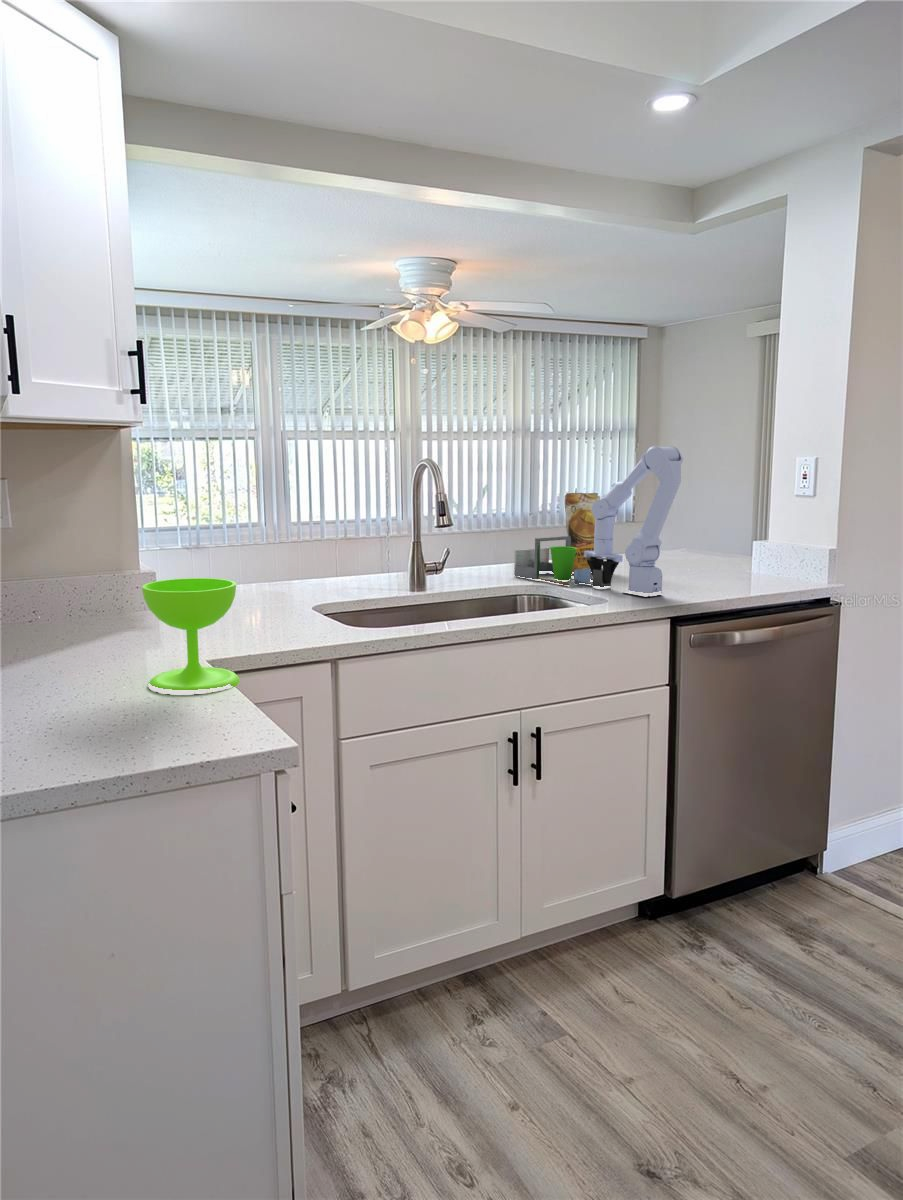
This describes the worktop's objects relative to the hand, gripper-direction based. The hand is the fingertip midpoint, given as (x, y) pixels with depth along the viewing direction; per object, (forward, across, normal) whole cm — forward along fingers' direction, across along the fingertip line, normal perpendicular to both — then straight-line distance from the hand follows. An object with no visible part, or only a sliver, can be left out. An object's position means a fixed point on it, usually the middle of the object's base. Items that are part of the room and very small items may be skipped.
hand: (601, 582), depth 261 cm
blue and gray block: (+2, -4, 0) cm, 4 cm away
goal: (+2, -28, 0) cm, 28 cm away
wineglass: (+2, +36, -140) cm, 145 cm away
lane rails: (+2, -15, 0) cm, 15 cm away
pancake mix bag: (+2, -28, +19) cm, 34 cm away
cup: (+2, -18, 0) cm, 18 cm away
